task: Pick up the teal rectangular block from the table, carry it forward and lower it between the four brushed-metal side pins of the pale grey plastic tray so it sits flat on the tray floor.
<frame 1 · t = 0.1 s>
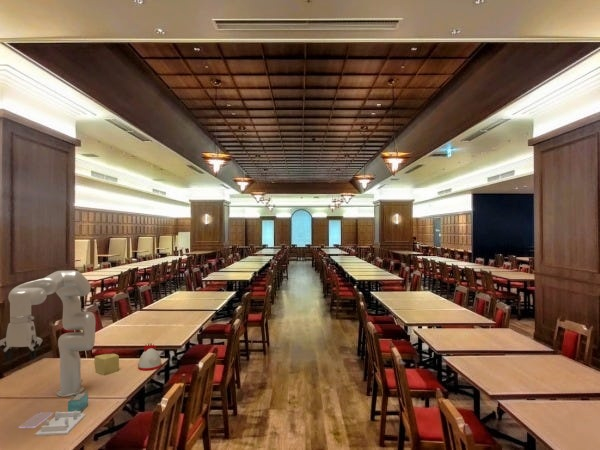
hand: (20, 359, 175), 31 cm above the table, fingers open, 9 cm apart
teal rectangular block: (78, 410, 198), on the table
kitchen timer: (149, 367, 260), on the table
cheese: (107, 372, 252), on the table
tray: (61, 425, 182), on the table
mobile phone: (36, 421, 187), on the table
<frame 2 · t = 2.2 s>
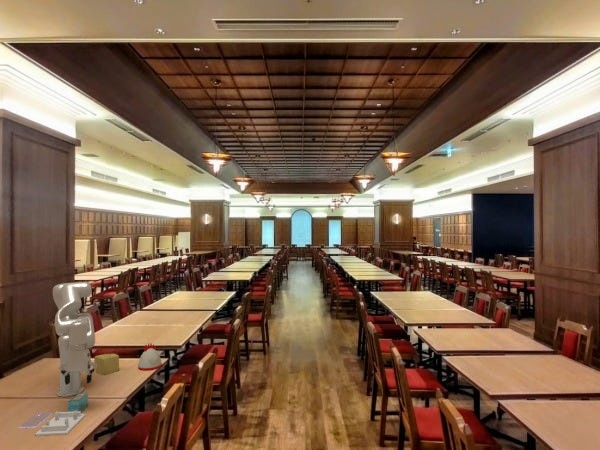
hand: (78, 383, 197), 13 cm above the table, fingers open, 9 cm apart
nothing on the table moved.
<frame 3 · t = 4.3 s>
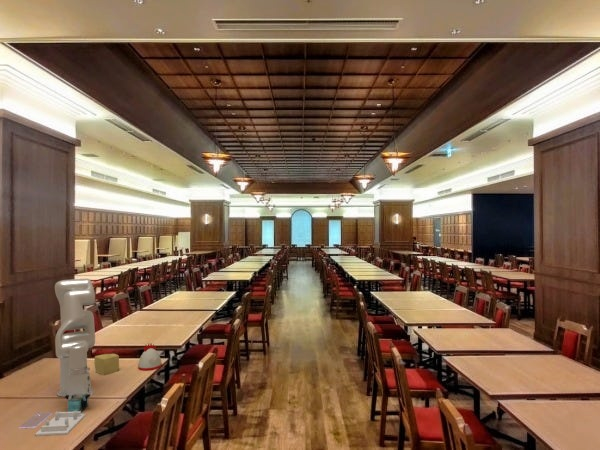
hand: (78, 408, 198), 1 cm above the table, fingers closed on teal rectangular block, 5 cm apart
teal rectangular block: (78, 409, 198), on the table, touching gripper
everything else where it was.
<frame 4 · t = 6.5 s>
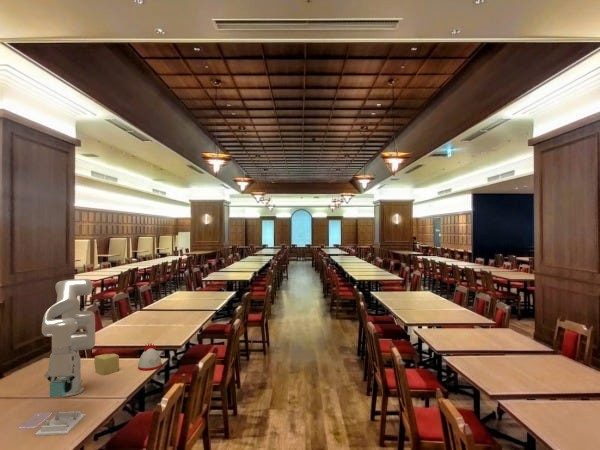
hand: (61, 390, 182), 15 cm above the table, fingers closed on teal rectangular block, 5 cm apart
teal rectangular block: (61, 392, 182), point 14 cm above the table, touching gripper
everything else where it was.
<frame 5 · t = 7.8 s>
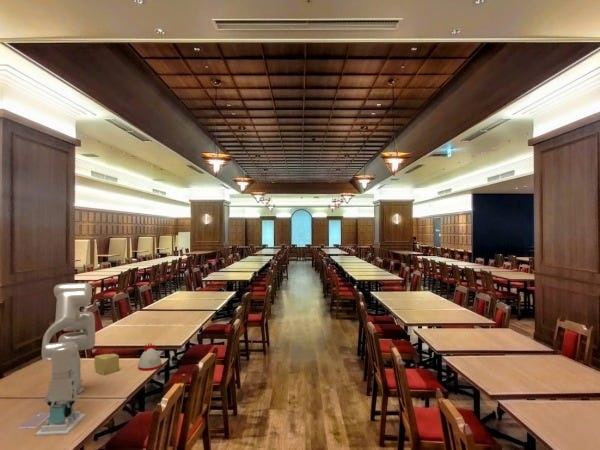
hand: (61, 415, 182), 4 cm above the table, fingers closed on teal rectangular block, 5 cm apart
teal rectangular block: (61, 417, 182), point 3 cm above the table, touching gripper
everything else where it was.
when the fingers open (3 cm above the table, at t = 8.7 s): teal rectangular block drops 2 cm, resting on tray.
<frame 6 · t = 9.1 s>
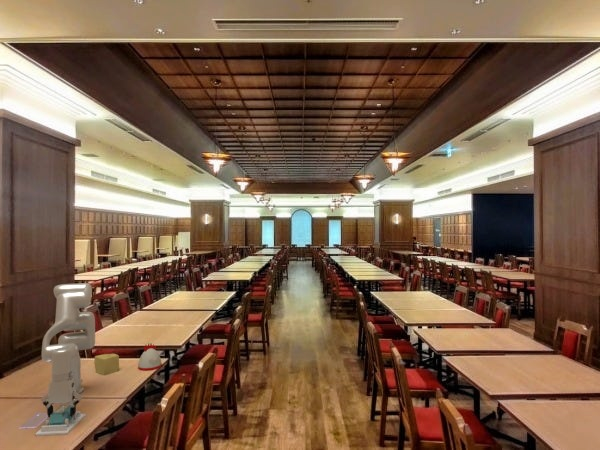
hand: (61, 415, 182), 4 cm above the table, fingers open, 9 cm apart
teal rectangular block: (61, 423, 182), point 1 cm above the table, touching tray
everything else where it was.
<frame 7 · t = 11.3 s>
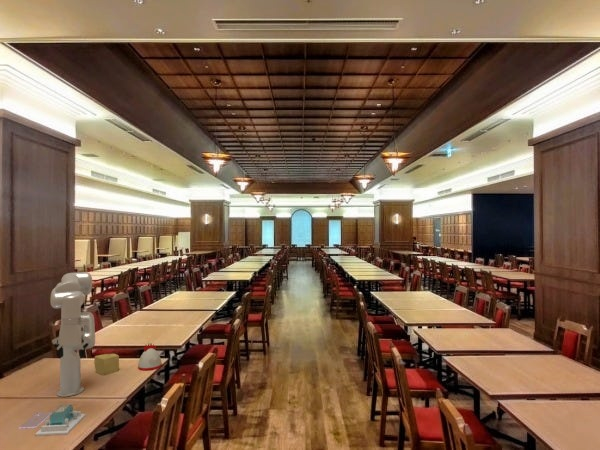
hand: (71, 357, 192), 27 cm above the table, fingers open, 9 cm apart
nothing on the table moved.
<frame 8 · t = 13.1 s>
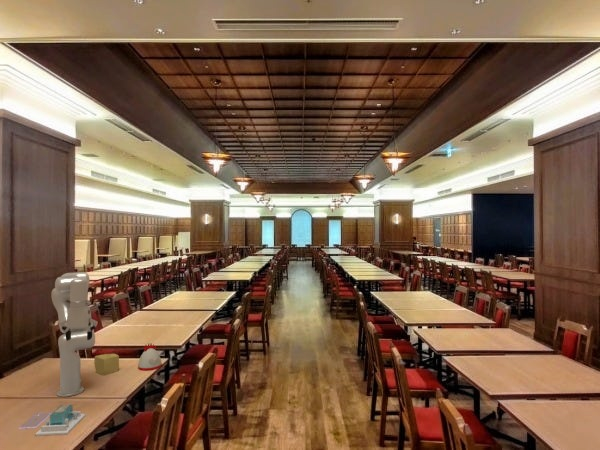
hand: (79, 339, 199), 33 cm above the table, fingers open, 9 cm apart
nothing on the table moved.
at the end: teal rectangular block 0.1 cm off-centre on the tray, point 0.8 cm above the tray's base; teal rectangular block tilted 0°; the gripper is holding nothing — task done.
